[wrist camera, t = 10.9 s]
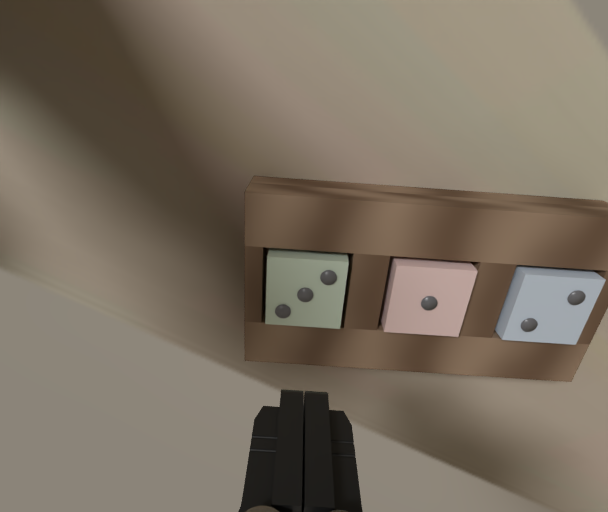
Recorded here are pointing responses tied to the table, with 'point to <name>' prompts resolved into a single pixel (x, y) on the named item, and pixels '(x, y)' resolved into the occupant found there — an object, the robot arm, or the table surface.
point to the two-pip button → (548, 304)
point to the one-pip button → (426, 295)
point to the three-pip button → (305, 287)
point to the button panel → (419, 244)
